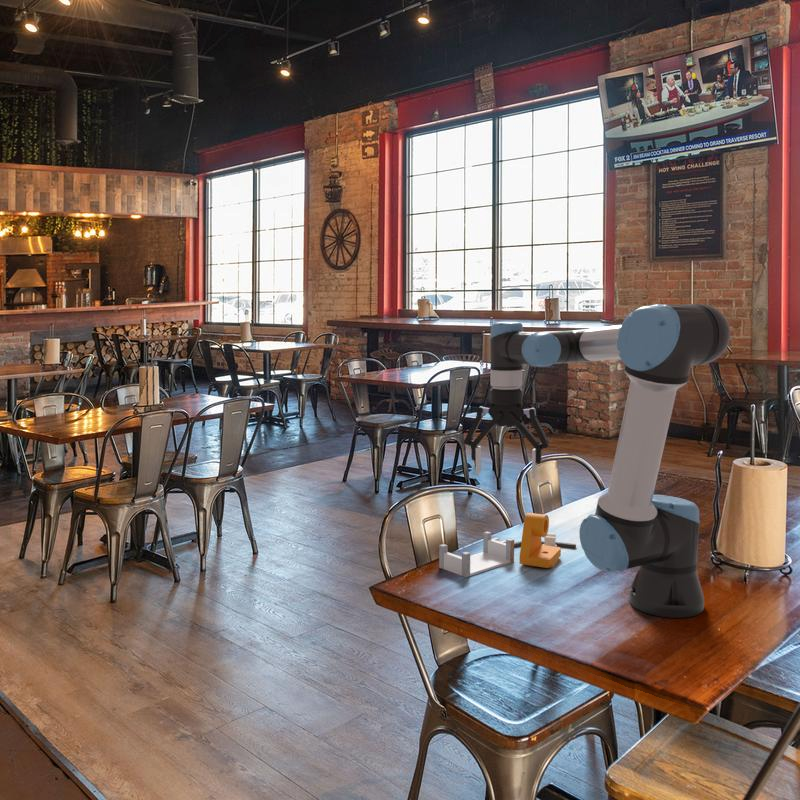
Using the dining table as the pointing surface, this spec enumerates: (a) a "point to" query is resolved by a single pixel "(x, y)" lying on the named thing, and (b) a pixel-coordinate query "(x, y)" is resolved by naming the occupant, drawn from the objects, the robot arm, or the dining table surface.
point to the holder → (478, 557)
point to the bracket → (537, 543)
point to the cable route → (547, 542)
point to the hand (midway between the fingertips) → (506, 475)
